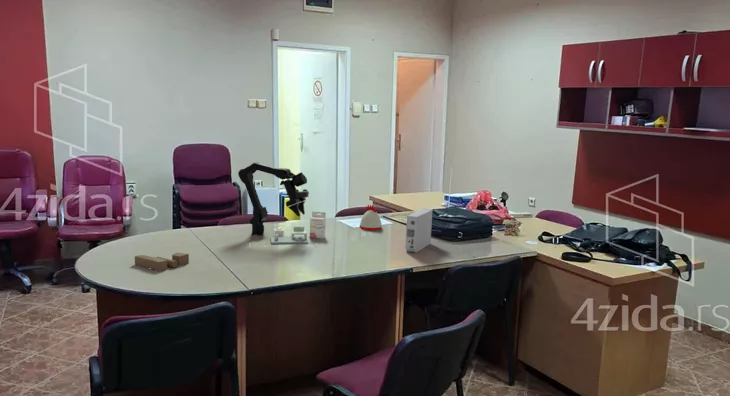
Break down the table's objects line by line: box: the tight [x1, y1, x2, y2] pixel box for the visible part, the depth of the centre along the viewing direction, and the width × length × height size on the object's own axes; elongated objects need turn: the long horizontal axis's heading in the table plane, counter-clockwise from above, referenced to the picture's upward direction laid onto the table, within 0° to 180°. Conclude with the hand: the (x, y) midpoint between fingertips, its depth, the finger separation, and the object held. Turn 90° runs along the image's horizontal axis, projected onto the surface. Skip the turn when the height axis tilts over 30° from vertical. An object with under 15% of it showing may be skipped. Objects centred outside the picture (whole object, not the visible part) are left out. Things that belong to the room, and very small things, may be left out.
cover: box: [291, 225, 308, 240], centre depth 309 cm, size 8×7×6 cm
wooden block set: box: [134, 252, 190, 272], centre depth 252 cm, size 17×6×18 cm
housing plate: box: [270, 234, 309, 245], centre depth 305 cm, size 20×14×4 cm
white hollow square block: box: [273, 228, 285, 236], centre depth 315 cm, size 5×5×4 cm
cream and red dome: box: [359, 204, 383, 231], centre depth 346 cm, size 14×14×15 cm
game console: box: [404, 207, 433, 254], centre depth 300 cm, size 6×27×20 cm, turn 155°
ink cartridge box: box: [309, 211, 327, 239], centre depth 315 cm, size 9×5×15 cm, turn 84°
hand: (301, 215), depth 310 cm, fingers open, 9 cm apart
